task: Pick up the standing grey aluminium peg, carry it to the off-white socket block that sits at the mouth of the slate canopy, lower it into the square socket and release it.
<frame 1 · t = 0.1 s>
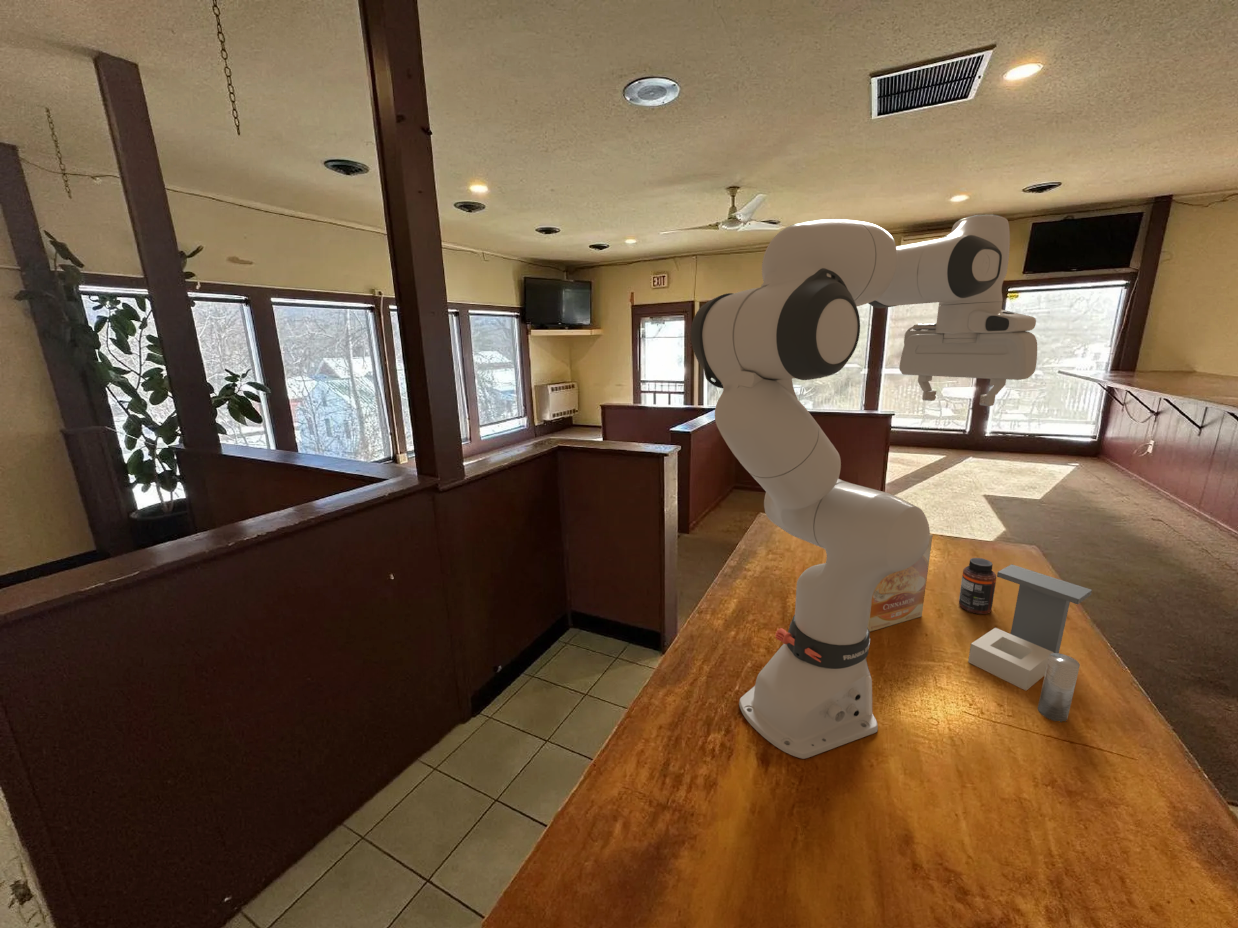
hand: (956, 402, 86), 48 cm above the table, fingers open, 8 cm apart
coffeecake box: (883, 616, 106), on the table
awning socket: (1008, 666, 89), on the table
supplement bottle: (974, 608, 107), on the table
peg: (1052, 713, 78), on the table
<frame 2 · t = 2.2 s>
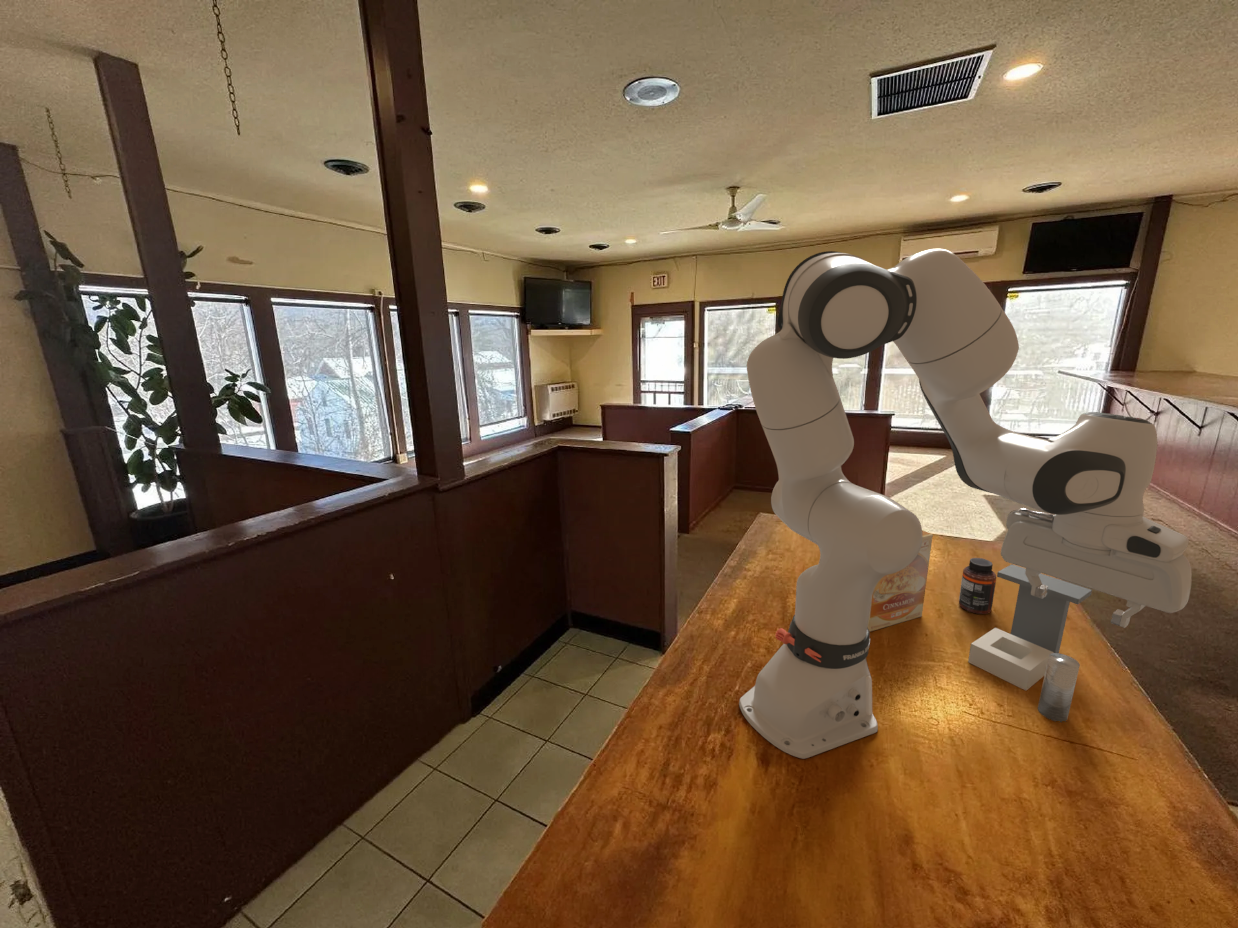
hand: (1076, 609, 73), 19 cm above the table, fingers open, 8 cm apart
nothing on the table moved.
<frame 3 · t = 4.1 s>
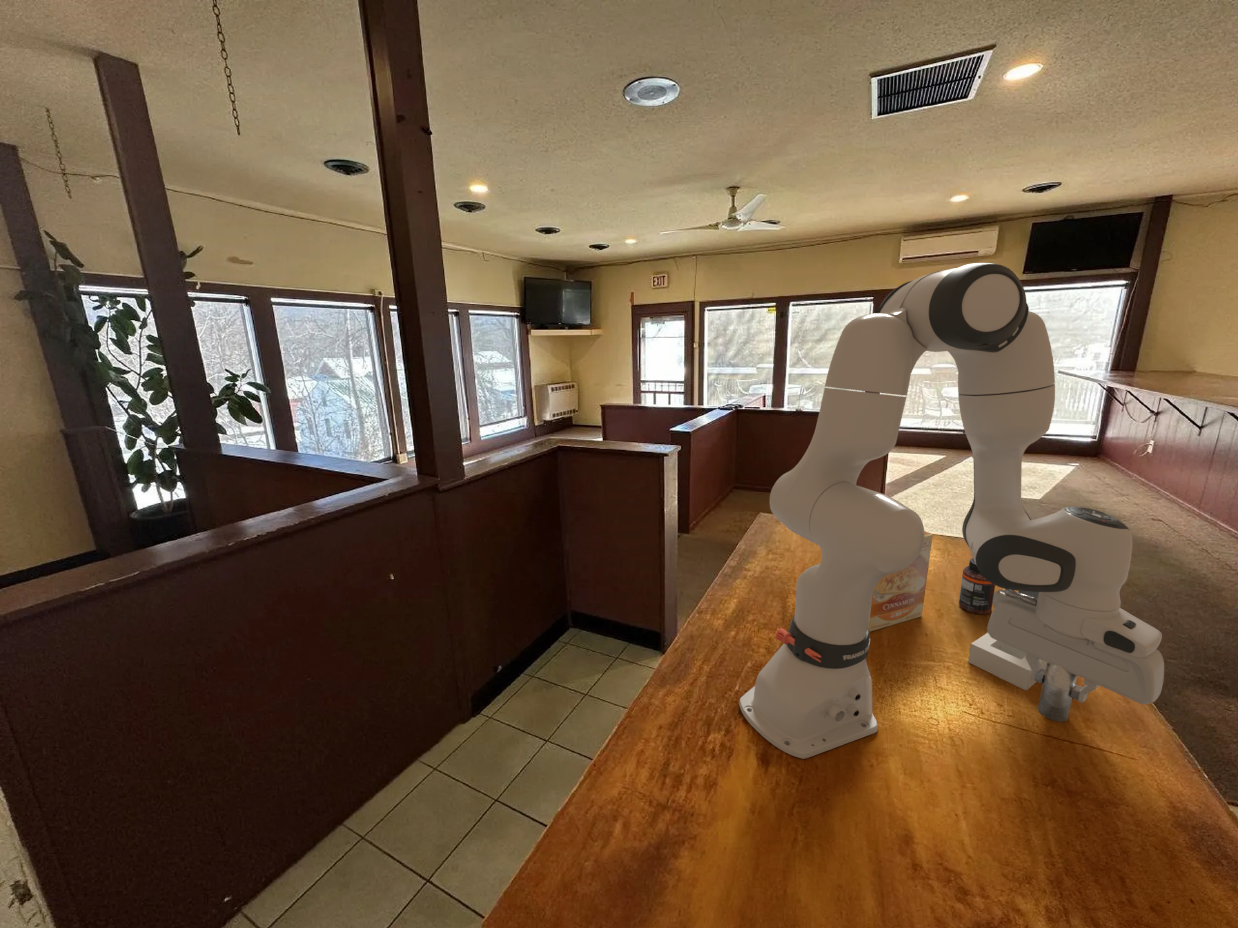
hand: (1057, 689, 77), 5 cm above the table, fingers closed on peg, 4 cm apart
peg: (1052, 713, 78), on the table, touching gripper
everything else where it was.
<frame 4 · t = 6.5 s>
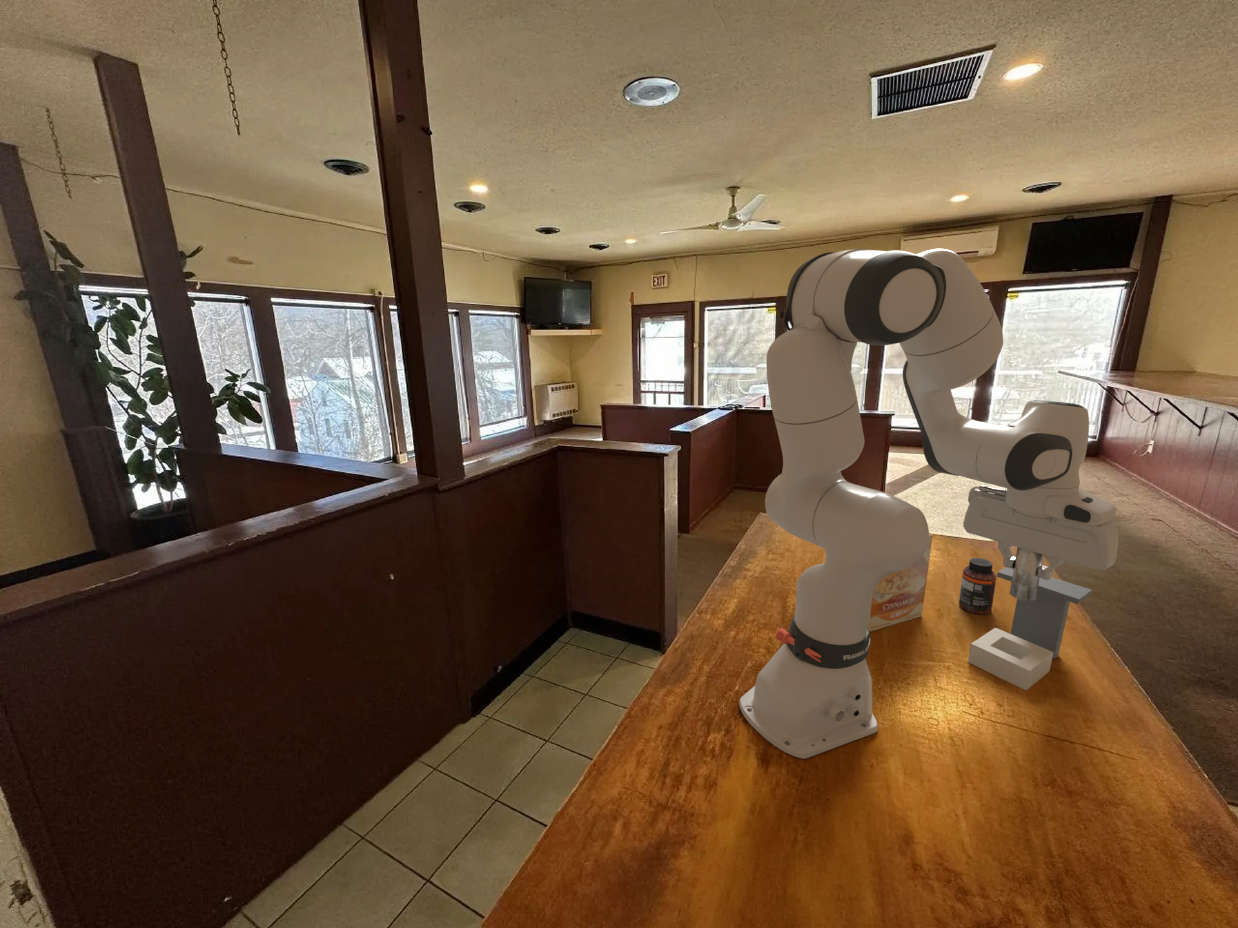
hand: (1026, 572, 84), 19 cm above the table, fingers closed on peg, 4 cm apart
peg: (1022, 595, 85), point 15 cm above the table, touching gripper
everything else where it was.
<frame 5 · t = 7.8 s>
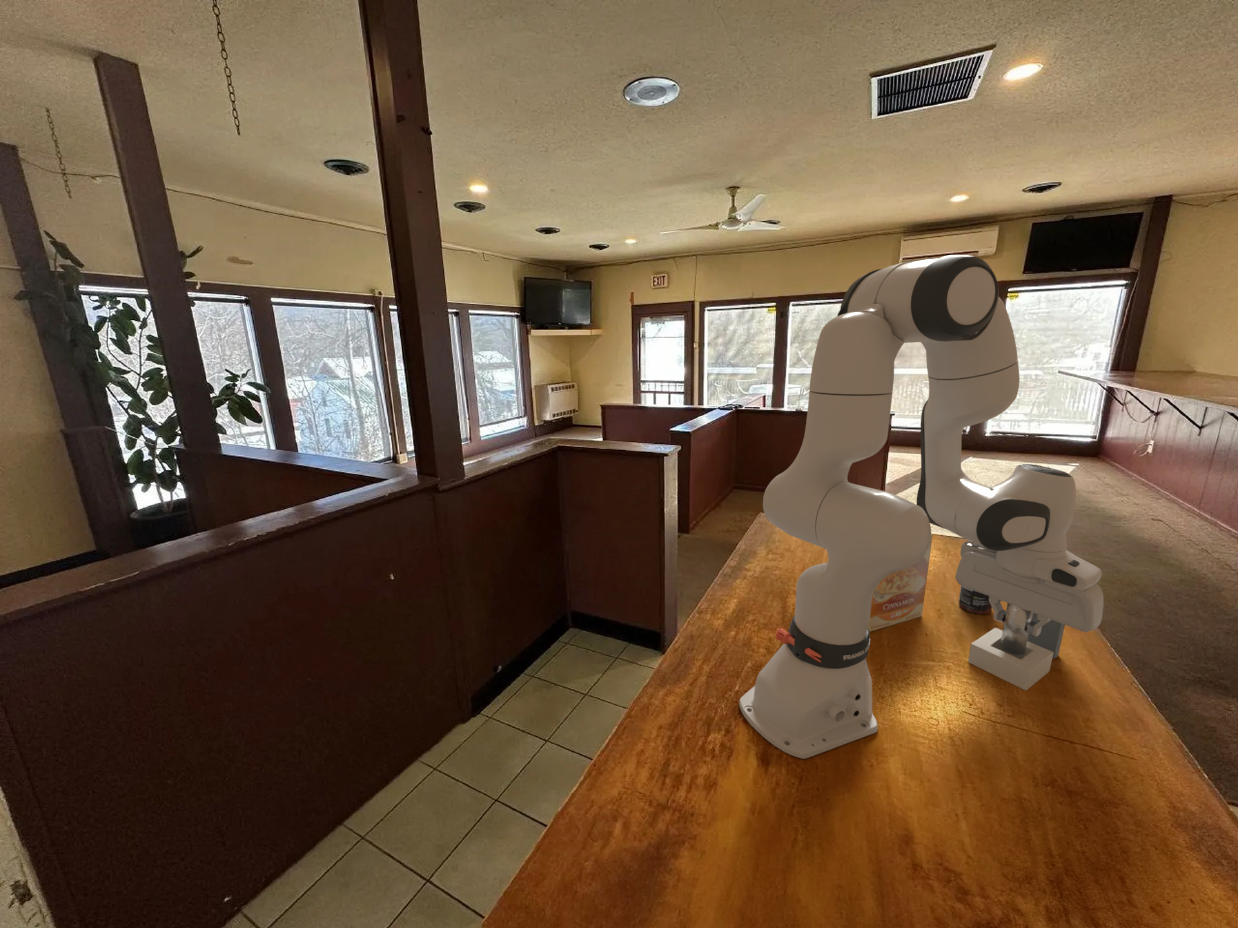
hand: (1016, 626, 87), 8 cm above the table, fingers closed on peg, 4 cm apart
peg: (1012, 648, 88), point 4 cm above the table, touching gripper
everything else where it was.
when the fingers open (6 cm above the table, at t = 8.9 s): peg drops 1 cm, resting in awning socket.
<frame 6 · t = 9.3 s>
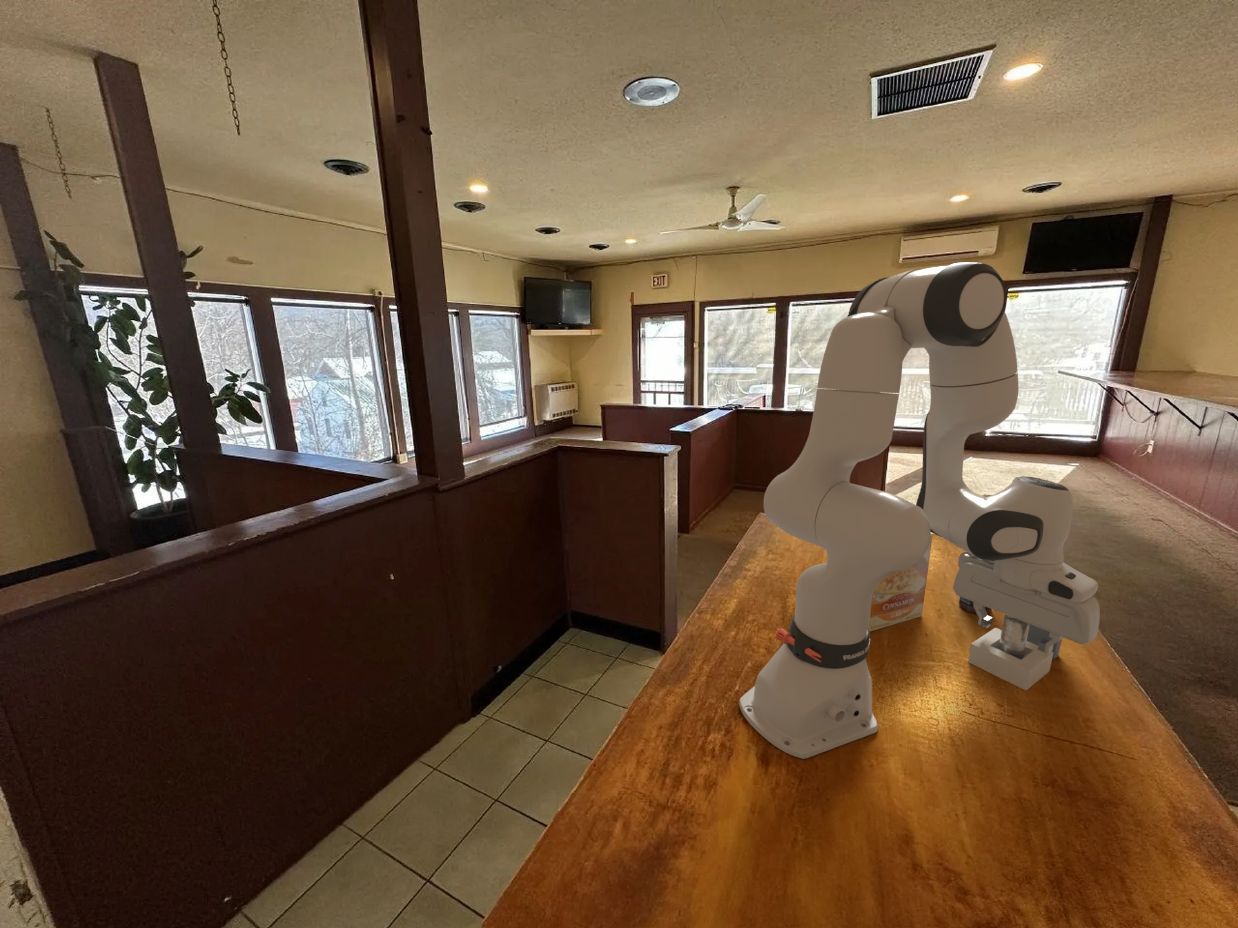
hand: (1013, 637, 87), 6 cm above the table, fingers open, 8 cm apart
peg: (1008, 666, 89), resting in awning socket
everything else where it was.
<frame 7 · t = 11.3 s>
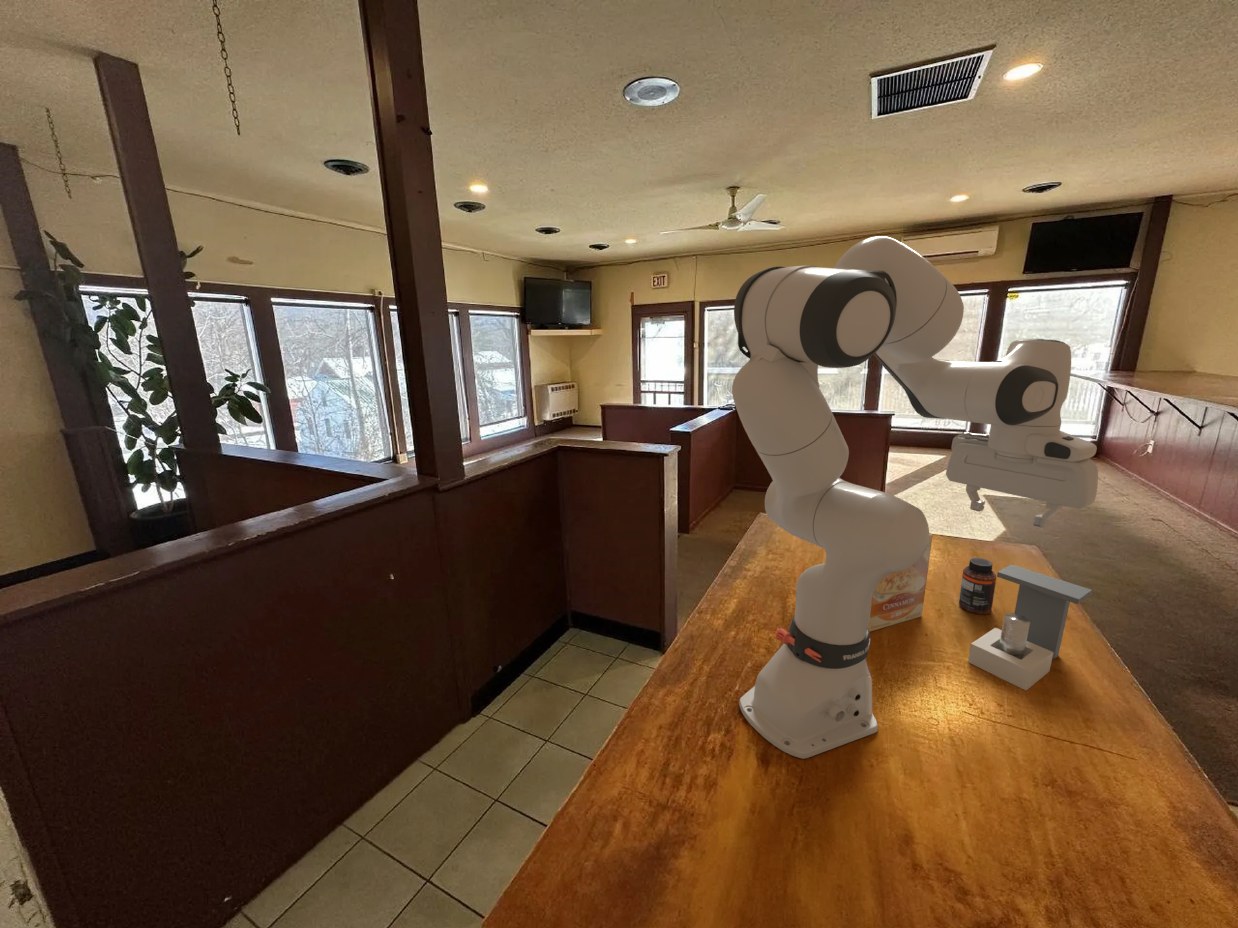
hand: (1007, 517, 84), 29 cm above the table, fingers open, 8 cm apart
nothing on the table moved.
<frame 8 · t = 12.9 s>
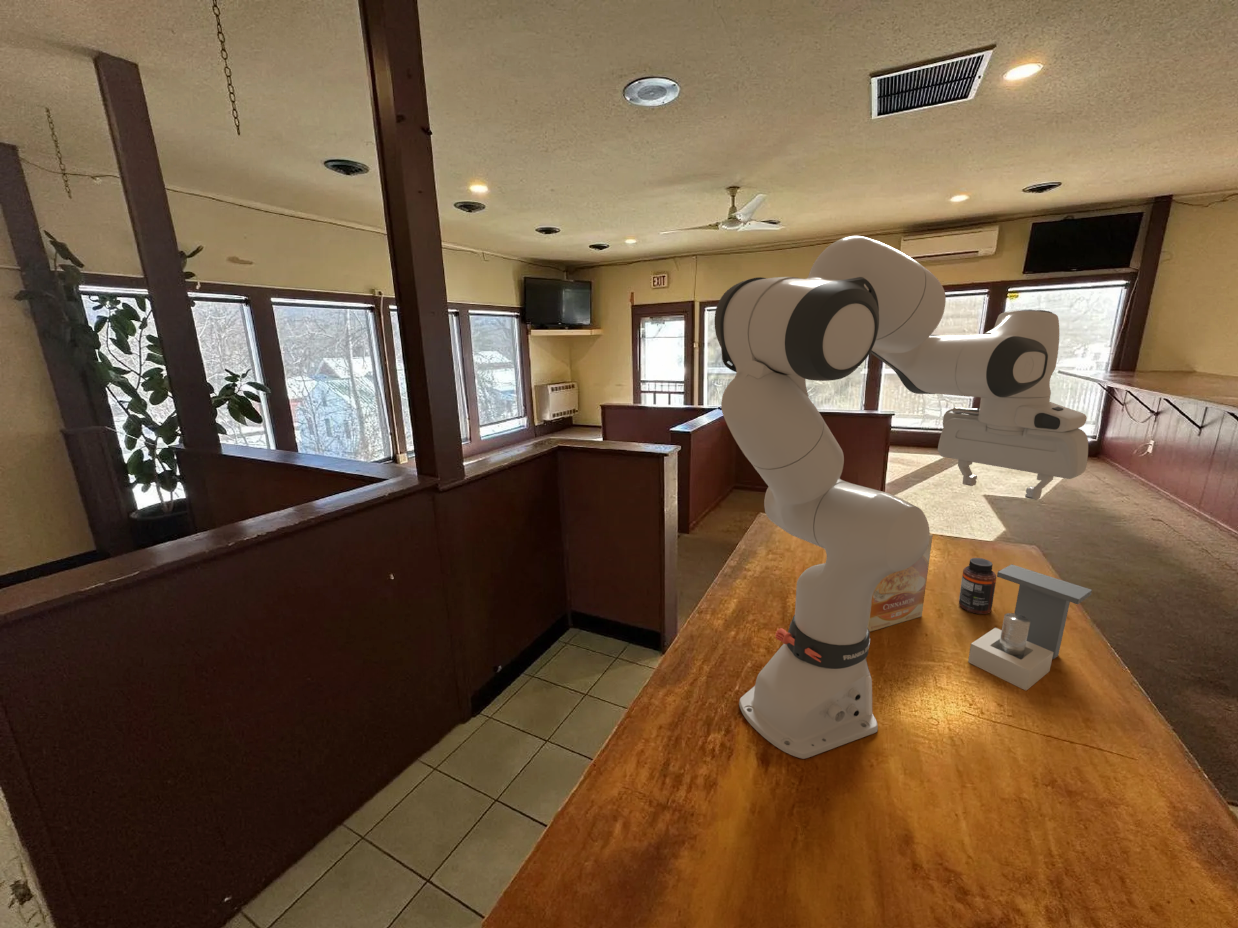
hand: (999, 491, 84), 33 cm above the table, fingers open, 8 cm apart
nothing on the table moved.
at the end: peg 0.1 cm off-centre on the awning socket, point 0.0 cm above the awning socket's base; peg tilted 0°; the gripper is holding nothing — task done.
